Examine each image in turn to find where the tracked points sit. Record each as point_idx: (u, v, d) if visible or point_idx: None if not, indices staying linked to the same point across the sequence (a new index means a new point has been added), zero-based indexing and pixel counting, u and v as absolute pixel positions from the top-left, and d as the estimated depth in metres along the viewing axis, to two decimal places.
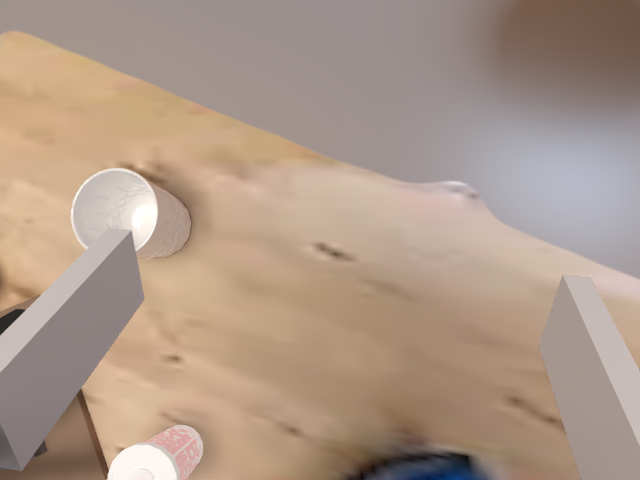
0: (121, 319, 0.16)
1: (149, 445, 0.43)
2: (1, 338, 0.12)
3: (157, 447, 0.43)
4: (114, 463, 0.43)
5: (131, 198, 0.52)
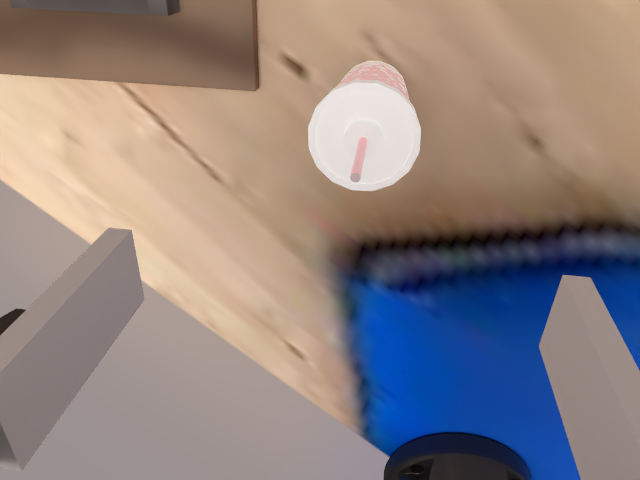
0: (121, 318, 0.16)
1: (399, 94, 0.26)
2: (1, 338, 0.12)
3: (408, 102, 0.26)
4: (332, 96, 0.27)
5: None
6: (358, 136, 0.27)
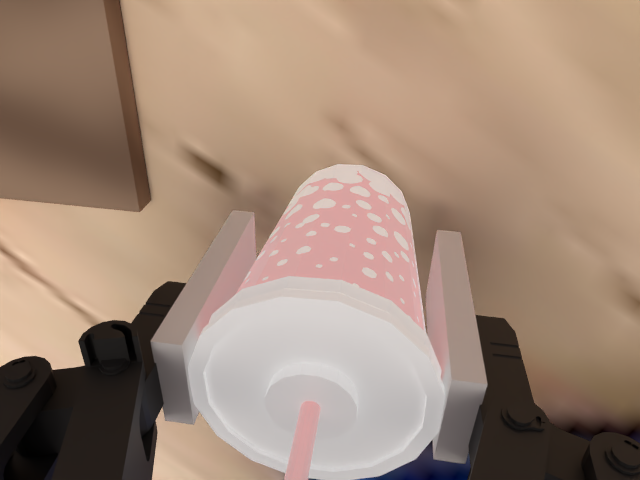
0: None
1: (392, 325, 0.11)
2: (177, 304, 0.13)
3: (414, 338, 0.11)
4: (235, 318, 0.11)
5: None
6: (299, 399, 0.12)
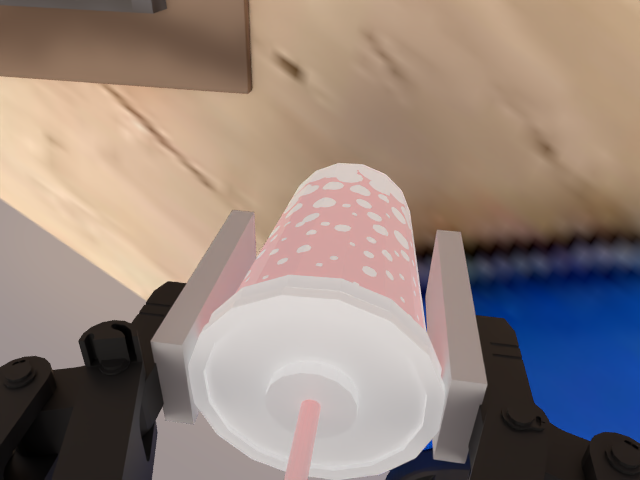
0: None
1: (393, 324, 0.11)
2: (177, 304, 0.13)
3: (415, 336, 0.11)
4: (235, 317, 0.11)
5: None
6: (299, 397, 0.12)
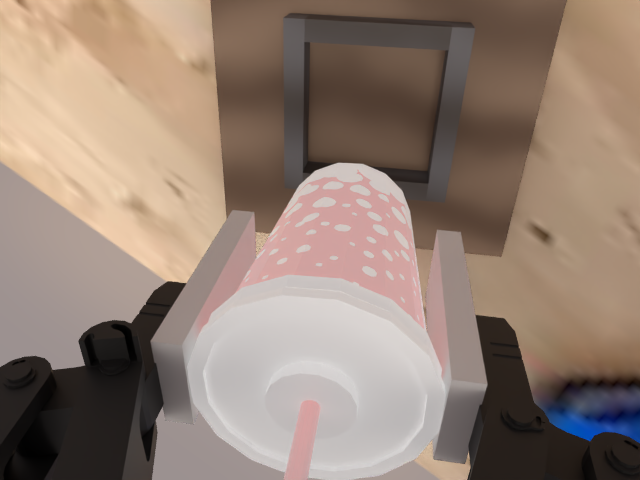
0: None
1: (393, 324, 0.11)
2: (177, 304, 0.13)
3: (415, 336, 0.11)
4: (234, 317, 0.11)
5: None
6: (299, 398, 0.12)
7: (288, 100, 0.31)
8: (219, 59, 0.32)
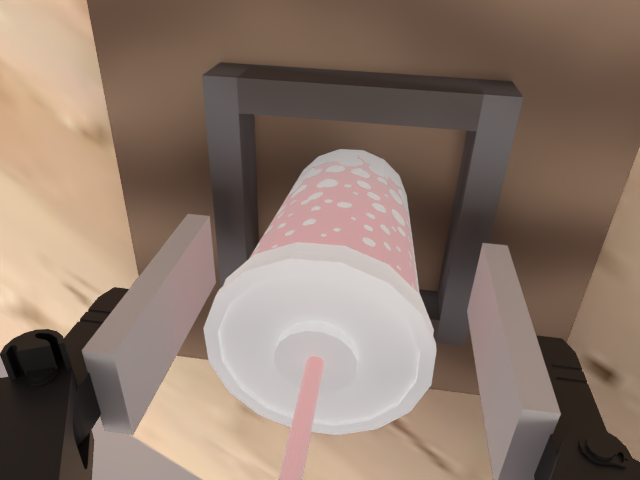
0: (200, 299, 0.17)
1: (390, 285, 0.12)
2: (115, 311, 0.13)
3: (409, 297, 0.12)
4: (248, 279, 0.12)
5: None
6: (305, 354, 0.13)
7: (219, 198, 0.19)
8: (118, 129, 0.21)
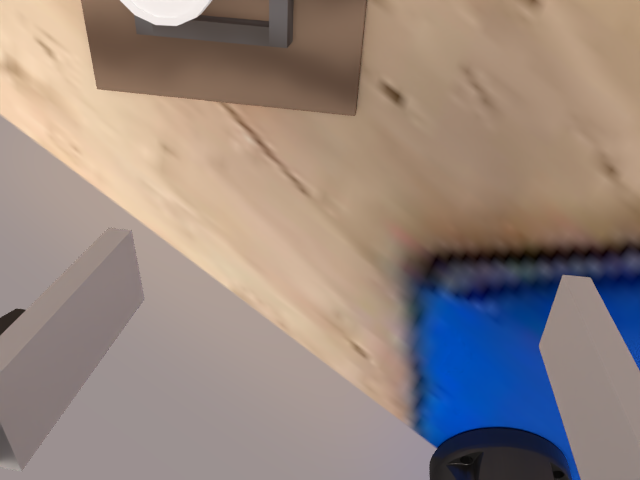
0: (121, 319, 0.16)
1: None
2: (1, 338, 0.12)
3: None
4: None
5: None
6: None
7: None
8: None
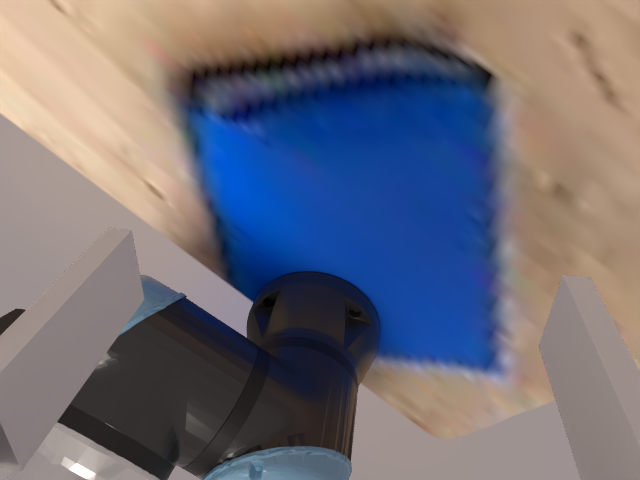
0: (121, 318, 0.16)
1: None
2: (1, 338, 0.12)
3: None
4: None
5: None
6: None
7: None
8: None
